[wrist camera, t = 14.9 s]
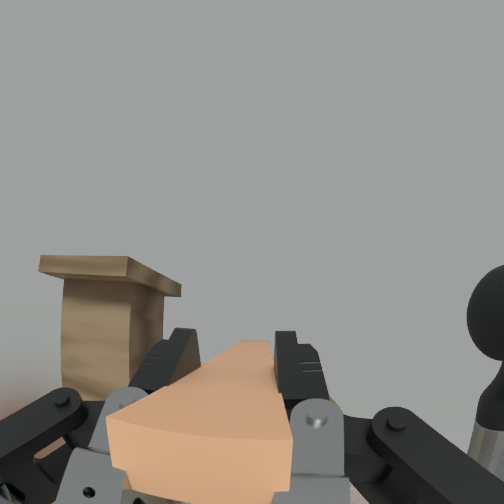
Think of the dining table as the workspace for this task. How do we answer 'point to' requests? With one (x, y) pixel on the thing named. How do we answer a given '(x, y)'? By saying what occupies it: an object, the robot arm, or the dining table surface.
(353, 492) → the dining table surface
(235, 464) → the slat
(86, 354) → the pedestals
